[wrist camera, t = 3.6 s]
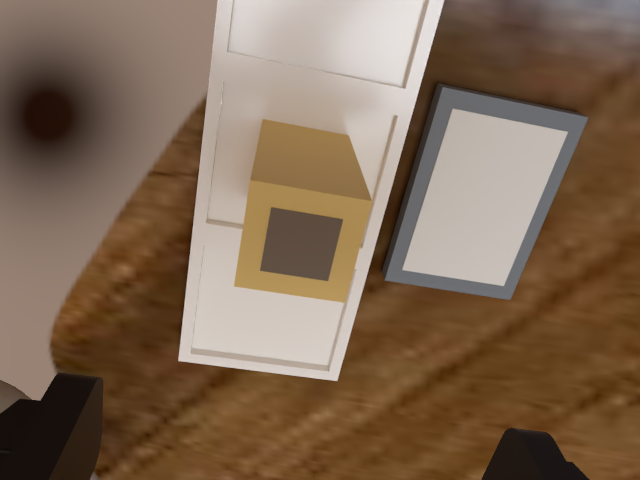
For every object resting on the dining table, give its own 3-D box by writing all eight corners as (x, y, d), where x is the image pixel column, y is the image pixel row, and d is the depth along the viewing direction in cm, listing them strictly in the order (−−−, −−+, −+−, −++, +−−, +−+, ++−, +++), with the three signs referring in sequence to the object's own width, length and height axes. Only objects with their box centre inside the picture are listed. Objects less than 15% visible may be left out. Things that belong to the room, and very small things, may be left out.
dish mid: (213, 60, 23) (210, 64, 22) (410, 100, 24) (414, 105, 23) (195, 223, 26) (192, 232, 26) (368, 251, 28) (371, 260, 27)
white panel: (195, 223, 26) (192, 232, 26) (368, 251, 28) (371, 260, 27) (181, 349, 30) (178, 360, 29) (335, 369, 31) (337, 380, 30)
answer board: (437, 82, 24) (443, 87, 23) (577, 112, 25) (589, 117, 24) (382, 270, 28) (385, 281, 27) (503, 289, 29) (510, 300, 28)
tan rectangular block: (262, 118, 24) (249, 180, 17) (348, 135, 24) (372, 201, 17) (249, 199, 25) (232, 286, 18) (330, 213, 26) (345, 303, 19)
